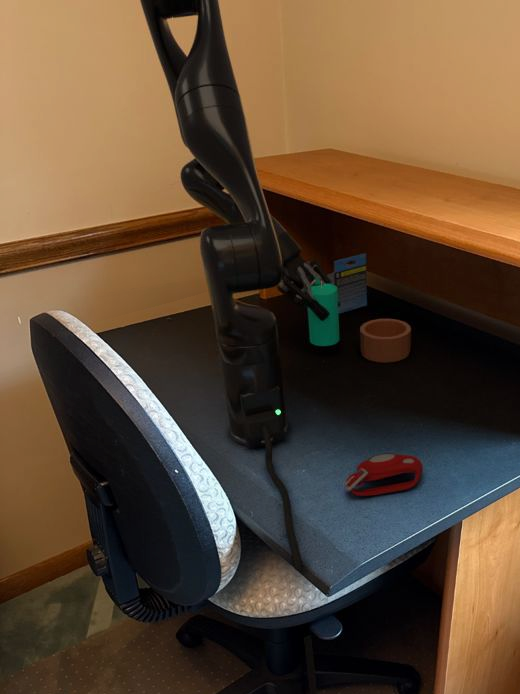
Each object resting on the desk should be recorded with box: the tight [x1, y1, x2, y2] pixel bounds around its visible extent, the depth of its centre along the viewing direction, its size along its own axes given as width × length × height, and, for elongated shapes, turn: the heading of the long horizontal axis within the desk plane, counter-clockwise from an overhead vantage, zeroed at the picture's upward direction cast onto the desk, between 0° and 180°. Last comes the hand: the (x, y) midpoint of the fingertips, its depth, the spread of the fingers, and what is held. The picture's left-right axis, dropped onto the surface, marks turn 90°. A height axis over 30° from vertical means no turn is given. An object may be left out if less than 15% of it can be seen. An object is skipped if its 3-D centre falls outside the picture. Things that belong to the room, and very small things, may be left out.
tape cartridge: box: [326, 252, 368, 315], centre depth 151 cm, size 9×4×12 cm, turn 126°
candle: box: [306, 280, 340, 347], centre depth 130 cm, size 6×6×12 cm
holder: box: [359, 318, 412, 363], centre depth 133 cm, size 10×10×5 cm
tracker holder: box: [343, 452, 424, 497], centre depth 97 cm, size 12×4×10 cm
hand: (331, 312), depth 129 cm, fingers closed on candle, 4 cm apart
